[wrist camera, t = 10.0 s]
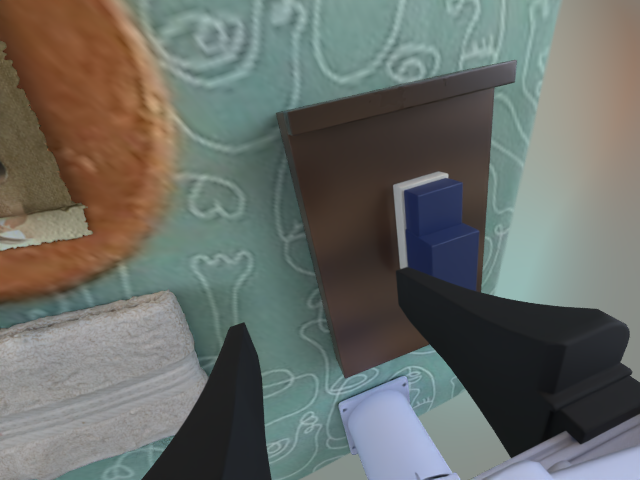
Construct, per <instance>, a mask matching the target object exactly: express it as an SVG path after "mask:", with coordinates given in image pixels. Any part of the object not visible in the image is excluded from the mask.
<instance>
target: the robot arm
mask: <svg viewBox="0 0 640 480" xmlns="http://www.w3.org/2000/svg"><path fill="white" fill-rule="evenodd" d="M396 281H397V293H398V304H399V306H400V308H401V309H402V311H403V312H404V314H405V315H406V317H407V318H408V320H409V321H410V322H411V324H412V325H413V326H414V327H415V328H416V329H417V330H418V332H419V333H420V334H421V335H422V336H423V337H424V338H425V339H426V340H427V342H428V343H429V344H430V345H431V346H432V347H433V348H434V349H435V350H436V352H437V353H438V354H439V355H440V356H441V357H442V358H443V359H444V361H445V362H446V363H447V364H448V366H449V367H450V368H451V369H452V371H453V372H454V374H455V375H456V376H457V378H458V379H459V380H460V382H461V383H462V384H463V386H464V387H465V389H466V390H467V391H468V393H469V394H470V396H471V397H472V399H473V400H474V402H475V403H476V404H477V406H478V407H479V409H480V410H481V412H482V413H483V415H484V416H485V418H486V419H487V421H488V422H489V424H490V425H491V427H492V428H493V430H494V431H495V433H496V435H497V436H498V438H499V439H500V441H501V443H502V444H503V446H504V447H505V449H506V451H507V452H508V454H509V455H510V457H511V459H509V460H507V461H505V462H503V463H501V464H499V465H497V466H495V467H493V468H491V469H489V470H487V471H485V472H483V473H481V474H479V475H477V476H475V477H473V478H471V479H469V480H640V382H638V381H637V380H635V379H634V378H632V377H631V376H630V375H631V374H632V371H631V369H630V368H628V367H626V366H625V365H623V364H622V363H620V361H621V359H622V357H623V354H624V352H625V349H626V347H627V344H628V340H629V335H630V334H629V329H628V327H627V325H626V324H625V323H622V322H621V321H619V320H617V319H615V318H613V317H611V316H610V315H608V314H606V313H604V312H602V311H600V310H598V309H590V308H574V307H559V306H550V305H542V304H534V303H528V302H522V301H516V300H510V299H505V298H501V297H497V296H493V295H489V294H484V293H481V292H477V291H474V290H470V289H467V288H464V287H461V286H458V285H455V284H452V283H449V282H447V281H444V280H441V279H439V278H436V277H433V276H431V275H428V274H426V273H423V272H420V271H418V270H415V269H412V268H409V267H405V268H402V269H399V270H396ZM338 406H339V410H340V414H341V418H342V421H343V425H344V429H345V432H346V436H347V440H348V444H349V447H350V451H351V454H352V455H356V454H359V457H360V459H361V462H362V465H363V468H364V470H365V473H366V476H367V478H368V480H461V479H460V478H459V476H458V474H457V473H456V472H455V473H452V471H451V470H450V468H449V467H448V465H447V463H446V462H445V460H444V459H443V457H442V456H441V454H440V452H439V451H438V449H437V447H436V446H435V444H434V443H433V441H432V439H431V438H430V436H429V435H428V433H427V431H426V430H425V428H424V426H423V425H422V424H421V422H420V420H419V419H418V417H417V415H416V414H415V412H414V410H413V409H412V407H411V406H410V398H409V387H408V379H407V378H406V376H401V377H399V378H396V379H394V380H392V381H389V382H387V383H385V384H382V385H380V386H377V387H375V388H373V389H370V390H368V391H365V392H363V393H361V394H358V395H356V396H354V397H351V398H349V399H346V400H344V401H342V402H340V403H339V405H338ZM142 480H271V474H270V467H269V461H268V454H267V447H266V438H265V425H264V407H263V389H262V376H261V370H260V365H259V359H258V355H257V352H256V350H255V347H254V345H253V342H252V340H251V338H250V335H249V333H248V330H247V328H246V325H245V323H241V324H238V325H235V326H232V327H230V328H229V330H228V333H227V335H226V338H225V341H224V344H223V346H222V349H221V351H220V354H219V356H218V359H217V361H216V363H215V366H214V368H213V370H212V372H211V374H210V376H209V378H208V380H207V383H206V385H205V387H204V389H203V391H202V392H201V394H200V396H199V398H198V400H197V402H196V403H195V405H194V407H193V408H192V410H191V412H190V413H189V415H188V417H187V418H186V420H185V421H184V423H183V424H182V426H181V427H180V429H179V430H178V432H177V433H176V435H175V436H174V438H173V439H172V441H171V442H170V444H169V445H168V446H167V448H166V449H165V450H164V452H163V453H162V454H161V456H160V457H159V458H158V460H157V461H156V462H155V463H154V465H153V466H152V467H151V468H150V470H149V471H148V472H147V473H146V475H145V476H144V477H143V478H142Z"/></svg>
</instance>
